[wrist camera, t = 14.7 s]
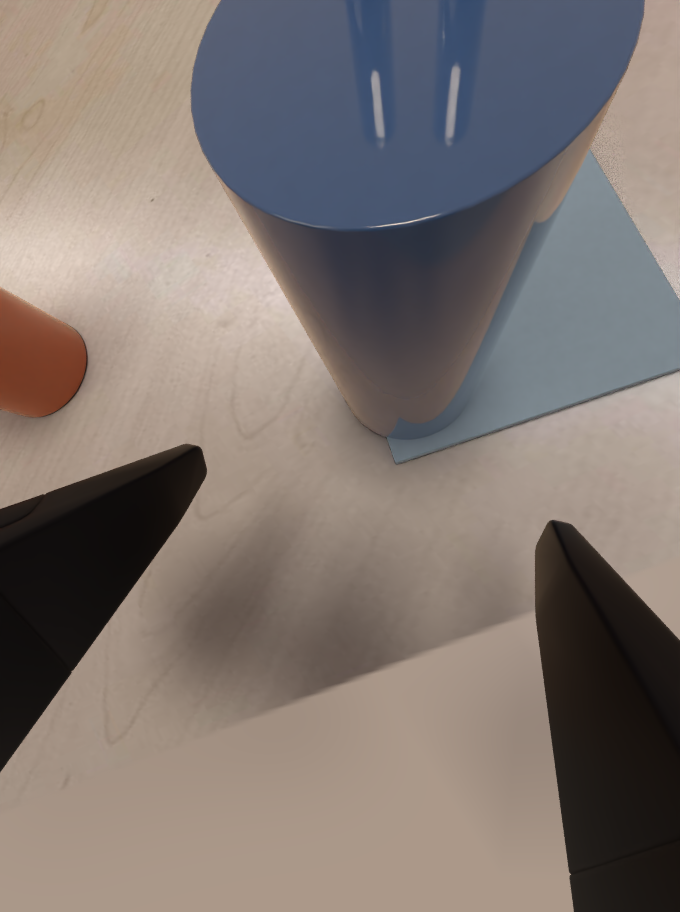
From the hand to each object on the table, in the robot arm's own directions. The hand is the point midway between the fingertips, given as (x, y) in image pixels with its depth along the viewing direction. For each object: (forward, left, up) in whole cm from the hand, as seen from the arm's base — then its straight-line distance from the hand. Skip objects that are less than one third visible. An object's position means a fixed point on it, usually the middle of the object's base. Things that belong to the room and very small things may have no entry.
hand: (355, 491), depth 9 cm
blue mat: (+11, -8, -9) cm, 16 cm away
